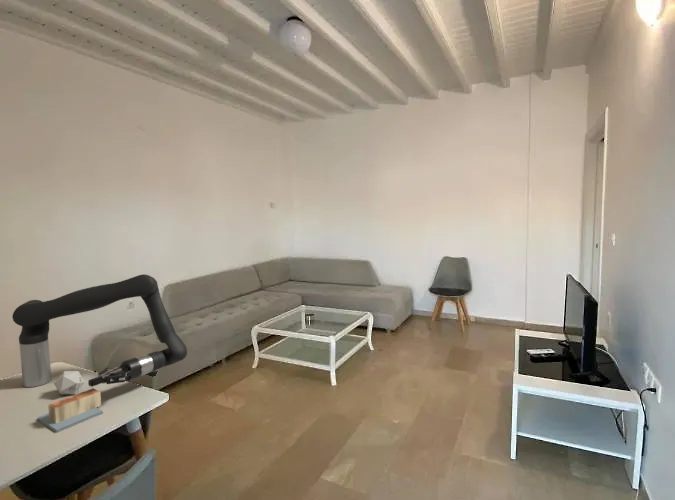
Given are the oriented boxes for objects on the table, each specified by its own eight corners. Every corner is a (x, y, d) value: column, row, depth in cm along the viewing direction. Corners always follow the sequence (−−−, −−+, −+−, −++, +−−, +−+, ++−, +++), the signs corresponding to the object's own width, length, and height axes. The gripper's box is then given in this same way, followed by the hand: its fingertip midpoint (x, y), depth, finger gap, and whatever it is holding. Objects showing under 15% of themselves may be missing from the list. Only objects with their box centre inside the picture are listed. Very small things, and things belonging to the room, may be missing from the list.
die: (62, 402, 145) (80, 378, 147) (43, 389, 146) (62, 364, 148) (76, 400, 153) (94, 376, 155) (59, 387, 154) (76, 364, 157)
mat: (37, 419, 132) (37, 417, 132) (83, 402, 144) (82, 400, 144) (56, 432, 125) (56, 430, 124) (103, 413, 136) (102, 410, 136)
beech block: (94, 401, 143) (49, 418, 131) (93, 388, 142) (48, 404, 130) (101, 405, 140) (56, 423, 128) (100, 391, 139) (55, 408, 128)
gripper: (127, 354, 156) (79, 369, 142) (146, 361, 149) (98, 377, 135) (128, 372, 157) (80, 389, 143) (147, 380, 150) (99, 398, 135)
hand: (89, 383), depth 139 cm, fingers closed
